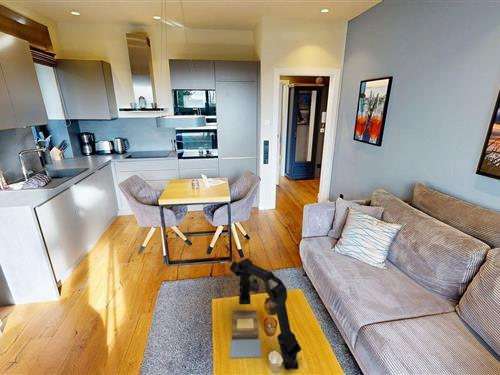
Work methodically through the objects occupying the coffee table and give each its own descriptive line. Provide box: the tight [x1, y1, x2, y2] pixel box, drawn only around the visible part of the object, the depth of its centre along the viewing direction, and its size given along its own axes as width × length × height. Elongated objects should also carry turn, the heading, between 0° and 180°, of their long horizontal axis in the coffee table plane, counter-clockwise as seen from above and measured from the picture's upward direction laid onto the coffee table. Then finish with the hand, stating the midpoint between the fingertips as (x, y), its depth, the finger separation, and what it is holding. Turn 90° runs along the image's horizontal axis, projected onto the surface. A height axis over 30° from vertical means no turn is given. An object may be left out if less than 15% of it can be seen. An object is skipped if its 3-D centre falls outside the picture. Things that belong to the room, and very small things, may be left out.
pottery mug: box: [263, 297, 277, 315], centre depth 151 cm, size 12×10×8 cm
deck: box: [231, 309, 259, 340], centre depth 139 cm, size 16×14×4 cm
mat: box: [229, 338, 263, 359], centre depth 127 cm, size 10×16×1 cm, turn 91°
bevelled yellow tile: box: [237, 319, 254, 331], centre depth 135 cm, size 6×9×2 cm, turn 91°
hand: (244, 302), depth 141 cm, fingers closed
